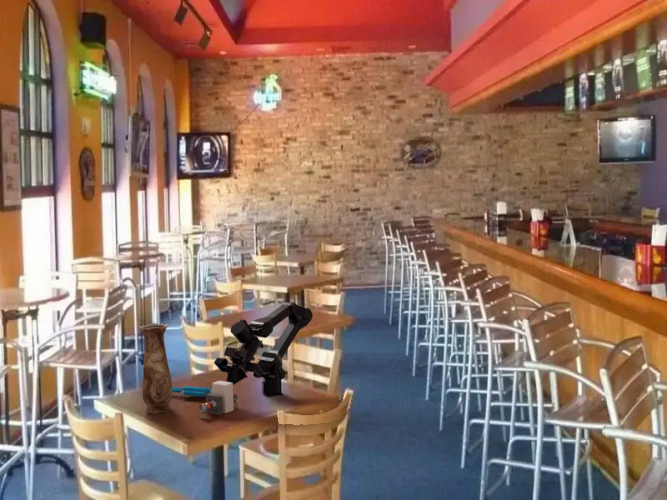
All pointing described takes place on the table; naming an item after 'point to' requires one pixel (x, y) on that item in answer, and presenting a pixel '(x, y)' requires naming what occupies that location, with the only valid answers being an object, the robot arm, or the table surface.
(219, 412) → the gray square plate
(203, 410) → the metal cylinder
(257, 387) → the table surface
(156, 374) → the vase
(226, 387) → the white block
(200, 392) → the toy
